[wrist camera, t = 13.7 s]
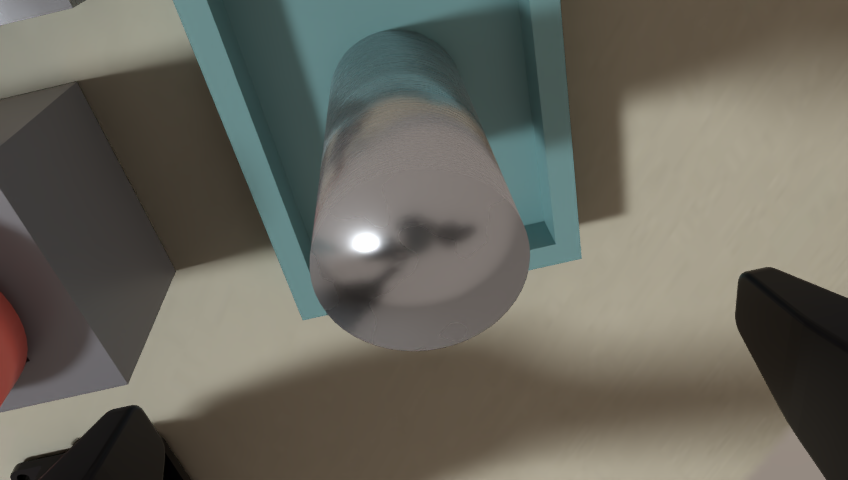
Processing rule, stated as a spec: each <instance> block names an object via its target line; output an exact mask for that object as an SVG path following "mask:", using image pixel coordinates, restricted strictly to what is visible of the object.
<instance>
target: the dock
mask: <svg viewBox="0 0 848 480" xmlns="http://www.w3.org/2000/svg"><path fill="white" fill-rule="evenodd" d="M175 272H176V271H175V269H174V267H173V265H172V263H171V261H170V259H169V257H168V255H167V254H166V252H165V250H164V248H163V246H162V244H161V242H160V240H159V238H158V236H157V234H156V233H155V231H154V229H153V227H152V225H151V223H150V221H149V219H148V217H147V215H146V213H145V211H144V210H143V208H142V206H141V204H140V202H139V200H138V198H137V196H136V194H135V192H134V190H133V188H132V187H131V185H130V183H129V181H128V179H127V177H126V175H125V173H124V171H123V169H122V167H121V165H120V164H119V162H118V160H117V158H116V156H115V154H114V152H113V150H112V148H111V146H110V144H109V142H108V141H107V139H106V137H105V135H104V133H103V131H102V129H101V127H100V125H99V123H98V121H97V119H96V118H95V116H94V114H93V112H92V110H91V108H90V106H89V104H88V102H87V100H86V98H85V96H84V95H83V93H82V91H81V89H80V87H79V85H78V83H77V82H73V83H69V84H64V85H60V86H56V87H52V88H47V89H43V90H39V91H35V92H30V93H26V94H22V95H18V96H14V97H9V98H5V99H1V100H0V292H1V293H2V294H3V295H4V296H5V298H6V299H7V300H8V301H9V303H10V304H11V305H12V307H13V308H14V310H15V311H16V313H17V314H18V316H19V318H20V320H21V323H22V325H23V327H24V330H25V334H26V338H27V346H28V352H27V360H26V363H25V366H24V369H23V371H22V373H21V375H20V376H19V378H18V380H17V381H16V383H15V384H14V386H13V388H12V389H11V391H10V392H9V394H8V396H7V397H6V399H5V400H4V402H3V403H2V405H1V407H0V412H5V411H9V410H14V409H18V408H23V407H27V406H32V405H36V404H41V403H45V402H50V401H55V400H59V399H64V398H68V397H73V396H77V395H82V394H86V393H91V392H95V391H100V390H104V389H109V388H114V387H118V386H123V385H127V384H128V383H129V380H130V378H131V376H132V373H133V371H134V369H135V366H136V364H137V362H138V359H139V357H140V355H141V352H142V350H143V347H144V345H145V343H146V340H147V338H148V336H149V333H150V331H151V329H152V326H153V324H154V321H155V319H156V317H157V314H158V312H159V310H160V307H161V305H162V303H163V300H164V298H165V296H166V293H167V291H168V288H169V286H170V284H171V281H172V279H173V277H174V274H175Z"/></svg>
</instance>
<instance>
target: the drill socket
mask: <svg viewBox="0 0 848 480" xmlns="http://www.w3.org/2000/svg"><path fill="white" fill-rule="evenodd" d="M84 1H85V0H0V25H3V24H8V23H12V22H16V21H20V20H24V19H28V18H32V17H37V16H41V15H45V14H49V13H53V12H57V11H62V10H66V9H70V8H73V7H75V6H77V5H79V4H80V3H82V2H84Z"/></svg>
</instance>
